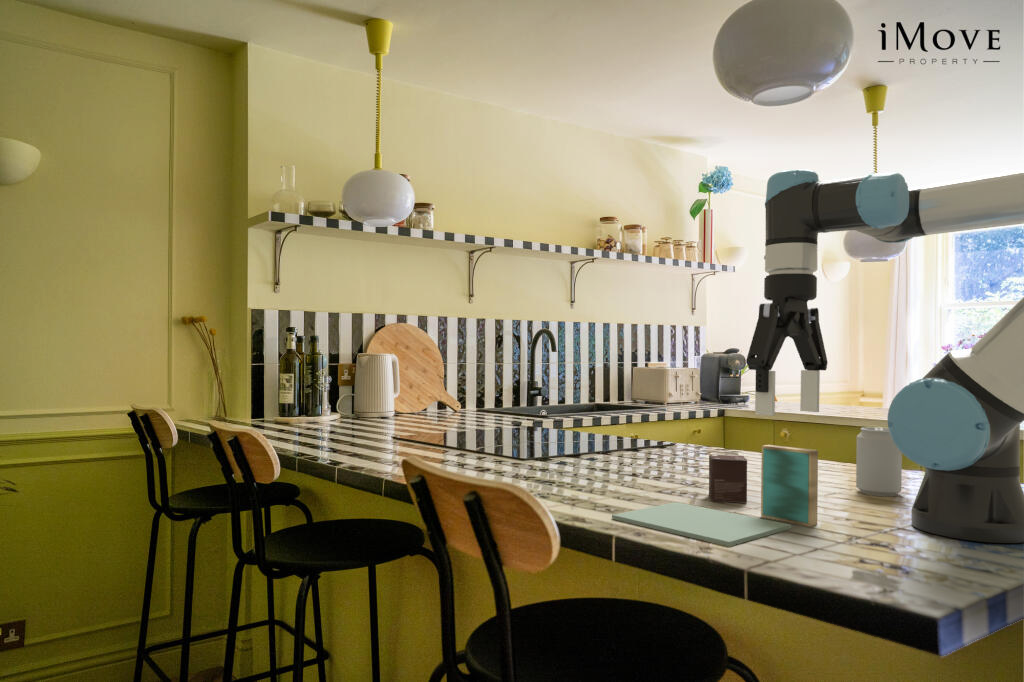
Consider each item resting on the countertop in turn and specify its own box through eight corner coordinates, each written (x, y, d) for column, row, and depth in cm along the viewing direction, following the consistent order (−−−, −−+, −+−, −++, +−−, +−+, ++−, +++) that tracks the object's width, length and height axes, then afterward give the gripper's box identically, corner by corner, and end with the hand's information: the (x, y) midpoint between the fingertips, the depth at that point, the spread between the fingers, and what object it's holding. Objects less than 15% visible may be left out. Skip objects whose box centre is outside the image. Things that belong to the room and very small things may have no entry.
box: (747, 503, 123) (747, 460, 123) (710, 501, 125) (711, 458, 125) (743, 497, 129) (743, 455, 129) (708, 495, 131) (708, 454, 131)
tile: (817, 524, 109) (817, 450, 109) (810, 526, 107) (811, 451, 107) (767, 515, 115) (768, 444, 115) (760, 516, 113) (761, 445, 114)
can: (857, 494, 133) (858, 428, 133) (854, 488, 140) (855, 425, 140) (903, 498, 130) (904, 431, 130) (899, 491, 137) (899, 427, 137)
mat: (790, 528, 106) (790, 524, 106) (729, 546, 95) (729, 541, 95) (676, 505, 121) (676, 501, 121) (611, 518, 110) (611, 514, 110)
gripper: (806, 282, 123) (804, 408, 123) (723, 268, 106) (720, 414, 106) (851, 279, 117) (849, 411, 117) (770, 264, 101) (768, 419, 100)
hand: (788, 413), depth 111 cm, fingers open, 13 cm apart
